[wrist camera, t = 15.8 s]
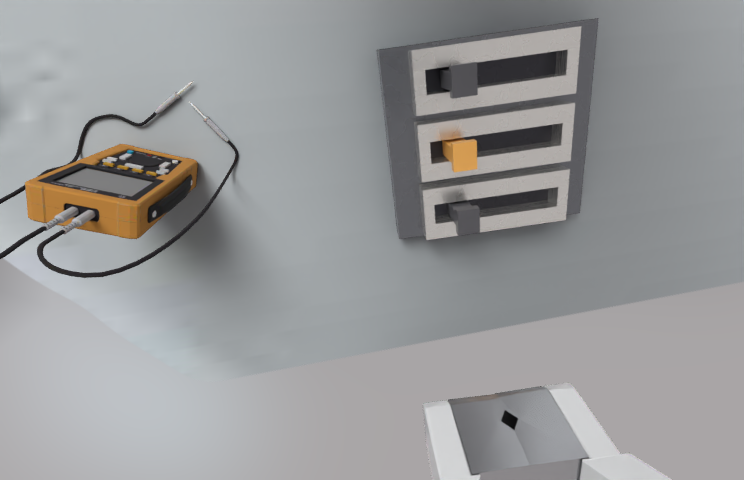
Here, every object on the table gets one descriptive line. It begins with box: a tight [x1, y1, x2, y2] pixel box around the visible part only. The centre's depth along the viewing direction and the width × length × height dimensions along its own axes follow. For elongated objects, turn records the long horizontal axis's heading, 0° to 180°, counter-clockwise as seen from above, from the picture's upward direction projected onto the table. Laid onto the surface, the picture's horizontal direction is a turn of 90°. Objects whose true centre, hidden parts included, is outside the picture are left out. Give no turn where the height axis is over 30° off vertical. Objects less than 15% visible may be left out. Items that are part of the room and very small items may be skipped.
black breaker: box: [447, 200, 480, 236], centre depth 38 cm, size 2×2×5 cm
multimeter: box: [0, 81, 238, 278], centre depth 29 cm, size 15×10×20 cm
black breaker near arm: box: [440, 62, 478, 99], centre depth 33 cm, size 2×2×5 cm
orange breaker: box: [442, 138, 477, 172], centre depth 36 cm, size 2×2×5 cm
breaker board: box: [377, 18, 598, 240], centre depth 38 cm, size 19×18×4 cm
